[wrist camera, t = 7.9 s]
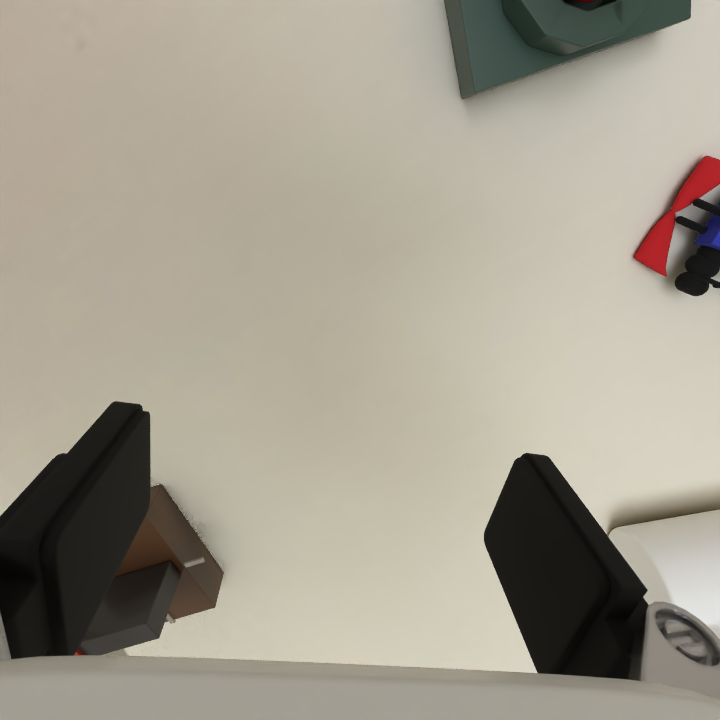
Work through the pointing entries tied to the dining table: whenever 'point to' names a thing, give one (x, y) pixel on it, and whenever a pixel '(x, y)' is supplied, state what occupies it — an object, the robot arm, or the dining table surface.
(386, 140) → the dining table surface
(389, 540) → the dining table surface
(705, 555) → the mug
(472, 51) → the button box
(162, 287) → the dining table surface
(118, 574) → the knob base block
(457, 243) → the dining table surface
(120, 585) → the bar knob
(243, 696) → the robot arm
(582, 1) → the button
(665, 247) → the toy figure
